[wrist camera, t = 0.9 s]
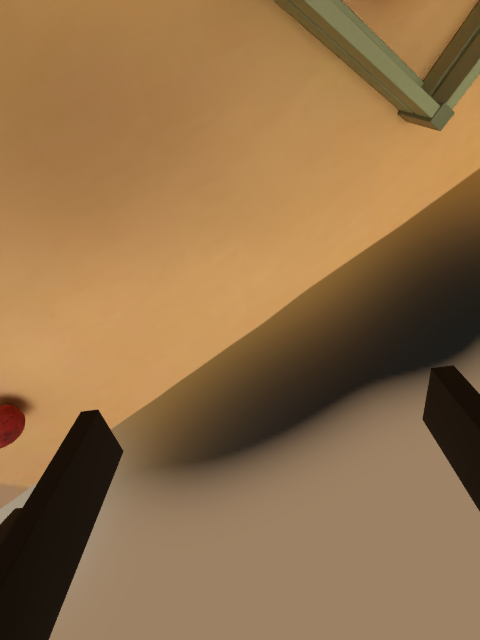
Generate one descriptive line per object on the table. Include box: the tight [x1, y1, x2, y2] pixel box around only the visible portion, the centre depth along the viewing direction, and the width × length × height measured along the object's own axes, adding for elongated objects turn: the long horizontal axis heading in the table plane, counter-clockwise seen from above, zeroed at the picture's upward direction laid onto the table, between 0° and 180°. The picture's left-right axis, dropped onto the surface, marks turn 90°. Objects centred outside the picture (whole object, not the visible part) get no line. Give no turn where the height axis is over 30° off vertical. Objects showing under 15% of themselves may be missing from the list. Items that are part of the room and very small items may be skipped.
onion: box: [0, 404, 25, 448], centre depth 45 cm, size 6×6×8 cm
